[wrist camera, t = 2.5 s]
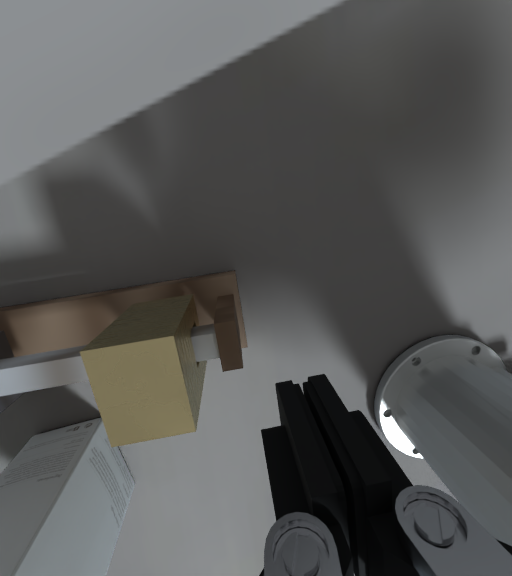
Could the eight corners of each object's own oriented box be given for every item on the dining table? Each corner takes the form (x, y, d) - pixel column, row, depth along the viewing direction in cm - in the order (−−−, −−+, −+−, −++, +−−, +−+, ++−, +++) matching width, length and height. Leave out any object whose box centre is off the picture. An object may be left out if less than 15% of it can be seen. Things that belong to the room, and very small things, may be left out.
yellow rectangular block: (193, 293, 19) (173, 335, 12) (207, 360, 20) (196, 431, 14) (133, 303, 19) (79, 351, 12) (150, 370, 20) (111, 447, 13)
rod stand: (234, 270, 23) (238, 298, 15) (246, 339, 24) (255, 399, 16) (-28, 312, 21) (-178, 367, 14) (2, 381, 23) (-118, 468, 15)
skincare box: (33, 431, 24) (-284, 781, 9) (110, 412, 25) (-79, 721, 9) (72, 504, 26) (-136, 885, 11) (141, 486, 27) (29, 834, 12)
